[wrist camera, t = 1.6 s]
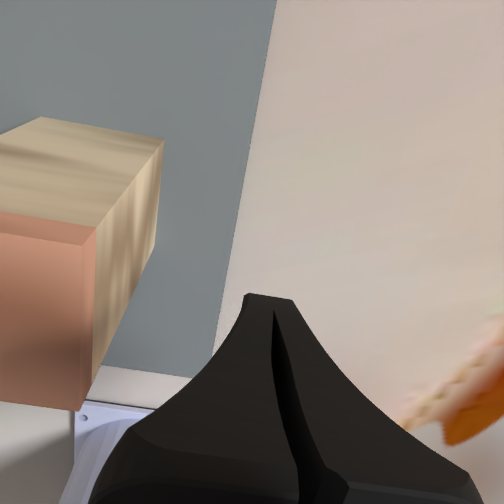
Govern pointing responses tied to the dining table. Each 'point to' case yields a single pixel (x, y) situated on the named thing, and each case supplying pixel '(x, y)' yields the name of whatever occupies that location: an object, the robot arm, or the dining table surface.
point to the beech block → (69, 251)
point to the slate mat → (154, 125)
